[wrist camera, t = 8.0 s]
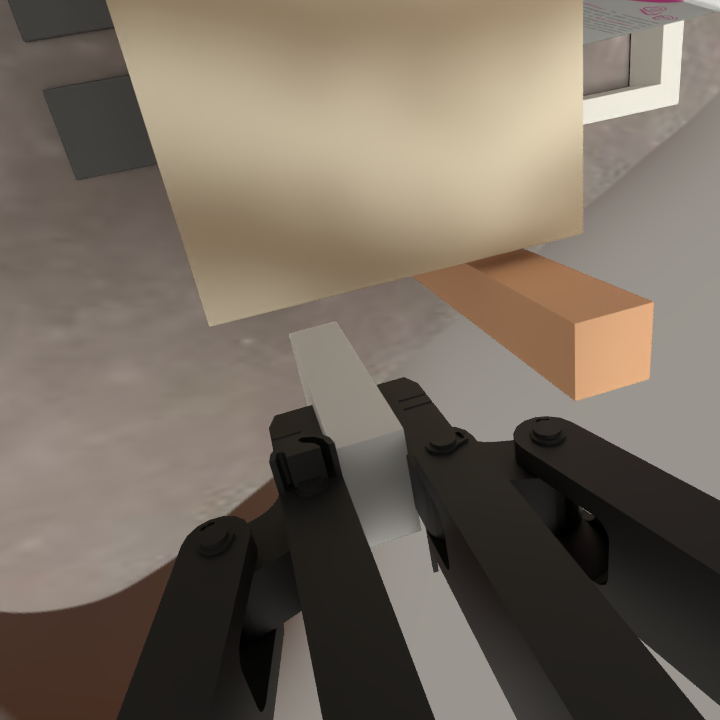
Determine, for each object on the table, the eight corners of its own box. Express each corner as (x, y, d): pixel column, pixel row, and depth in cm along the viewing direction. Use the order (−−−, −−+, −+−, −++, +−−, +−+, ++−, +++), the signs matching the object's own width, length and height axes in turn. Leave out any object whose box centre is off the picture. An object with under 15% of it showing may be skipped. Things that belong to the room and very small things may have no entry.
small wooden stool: (90, -159, 23) (-44, -471, 11) (401, -195, 25) (582, -492, 13) (209, 244, 30) (209, 326, 18) (443, 191, 32) (583, 233, 20)
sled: (326, -120, 25) (567, -617, 8) (658, -165, 28) (1367, -615, 11) (385, 256, 33) (575, 401, 16) (642, 193, 35) (1043, 261, 18)
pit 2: (44, 91, 26) (42, 90, 25) (132, 75, 26) (131, 74, 26) (78, 179, 27) (76, 180, 27) (160, 163, 28) (159, 163, 28)
